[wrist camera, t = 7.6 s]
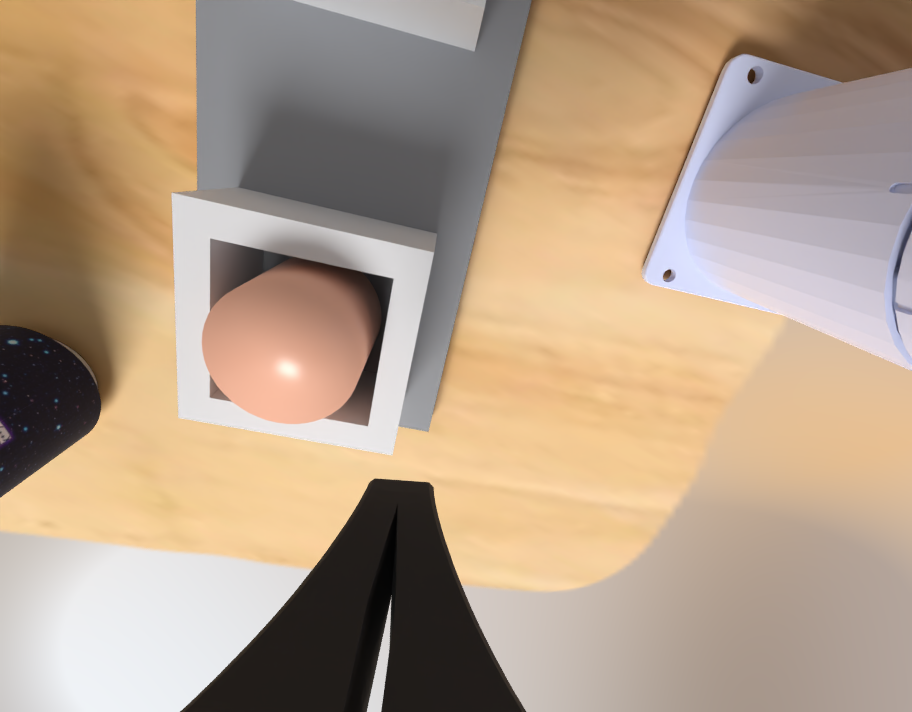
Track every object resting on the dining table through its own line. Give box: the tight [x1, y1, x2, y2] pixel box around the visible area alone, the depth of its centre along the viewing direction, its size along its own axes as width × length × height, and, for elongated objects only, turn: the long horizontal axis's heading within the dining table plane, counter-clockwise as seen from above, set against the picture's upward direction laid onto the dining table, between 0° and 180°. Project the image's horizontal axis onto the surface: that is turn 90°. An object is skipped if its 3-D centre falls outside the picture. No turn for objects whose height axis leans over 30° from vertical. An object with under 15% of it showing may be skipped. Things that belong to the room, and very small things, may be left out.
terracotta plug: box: [202, 257, 381, 424], centre depth 14 cm, size 4×4×4 cm
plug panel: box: [172, 0, 532, 455], centre depth 13 cm, size 10×23×5 cm, turn 167°
